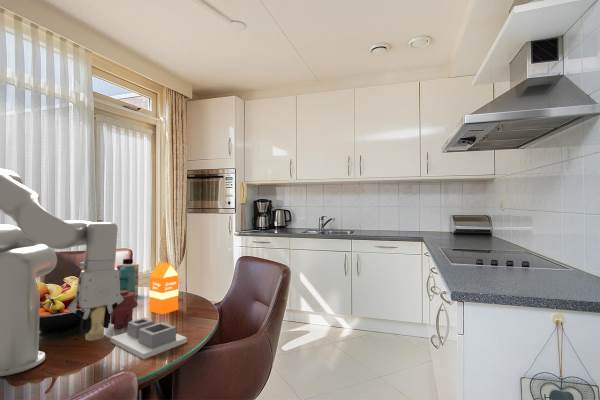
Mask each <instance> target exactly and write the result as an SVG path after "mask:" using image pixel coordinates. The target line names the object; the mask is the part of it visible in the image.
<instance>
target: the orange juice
mask: <svg viewBox="0 0 600 400" xmlns="http://www.w3.org/2000/svg"><path fill="white" fill-rule="evenodd" d="M178 310H179V273H178V272H177V270H176V269H175V267H174V266H173V265H172V263H170V262H163V261H158V262H157V264H156V265H155V268H154V269H153V270H152V272H151V274H150V275H149V310H148V311H149V312H152V313H156V314H160V315H165V314H168V313H170V312H175V311H178Z"/></svg>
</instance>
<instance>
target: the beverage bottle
mask: <svg viewBox="0 0 600 400" xmlns="http://www.w3.org/2000/svg"><path fill="white" fill-rule="evenodd" d="M122 264H134V259H133V258H124V259H122ZM119 279H120V280H119V281H120V291H123V290H127V291H128V292H134V293H135V267H134V266H123V267H122V268H121V269H120V278H119Z"/></svg>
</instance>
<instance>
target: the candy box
mask: <svg viewBox="0 0 600 400" xmlns="http://www.w3.org/2000/svg"><path fill="white" fill-rule="evenodd" d="M123 266H134V267H135V297H136V296H138V295H139V263H132V264H123V263H122V264H118V265H116V268H117V269H118V272H119V278H120V269H121V268H122V267H123ZM119 280H120V279H119Z"/></svg>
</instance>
